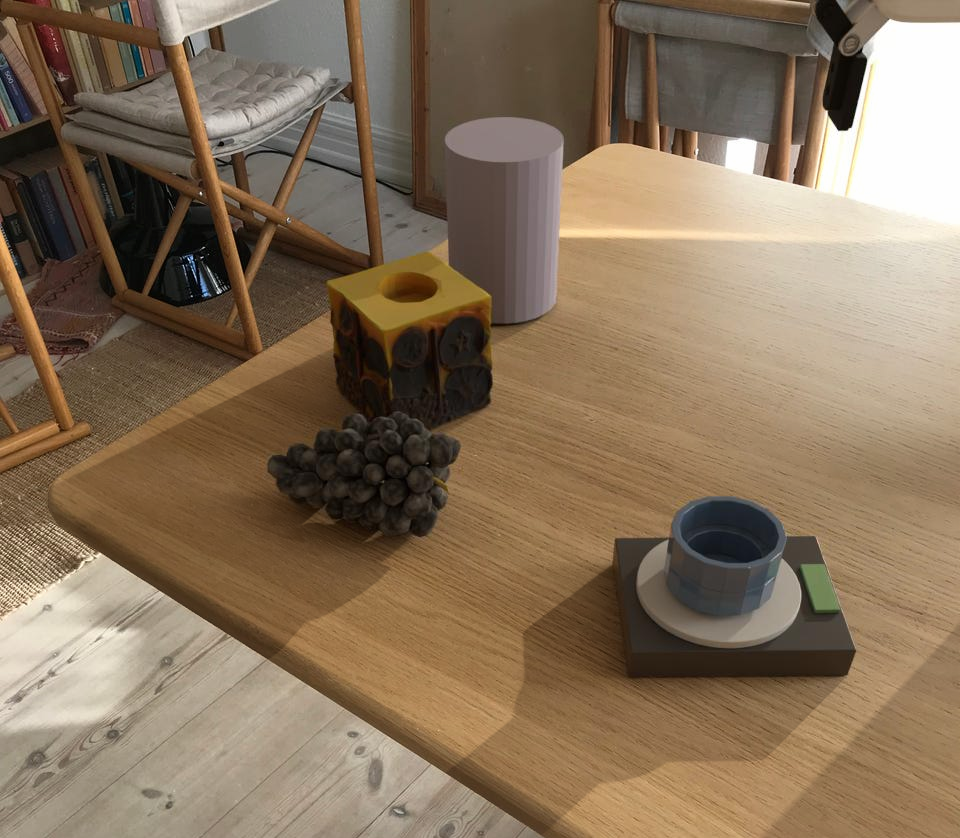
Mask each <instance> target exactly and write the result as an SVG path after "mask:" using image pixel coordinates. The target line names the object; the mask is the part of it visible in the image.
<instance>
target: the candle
mask: <svg viewBox="0 0 960 838" xmlns="http://www.w3.org/2000/svg"><path fill="white" fill-rule="evenodd" d="M325 285H326V291H327V295H328V302H329V309H330V311H329V313H330V325H331V328H332V329H331V330H332V337H333V355H332V356H333V363H334V368H335V372H336V378H335V384H336V388H337V390H338V391H339V392H340V393H341V394H342V395H343V396H344V397H345V398H346V399H347V400H348V401H349V403H350V404H351V405H352V406H353V407H354V408H355V409H356V410H358V411H359V414H361V415H363V417H364V418H365V419H366V420H367V421H368V422H369V421H370V422H372V420H373V419H376V418H378V417H385V418H387V417H388V416H390V415H391V414H392V413H394V412H398V411H399V412H402V413H404V414H407V415H408V416H409V418H410V419H417V420H419V421H420V422H422V423H423V424H424V427H425V428H426V429H427V430H429V429H432V428H436V427H439V426H440V425H443V424H444V423H449V422H451V421H453V420H455V419H458V418H460V417H462V416H464V415H467V414H469V413H472V412H476V411H478V410H482V409H485V408H486V407H487V406H490V405H491V402H492V397H491V395H492V394H491V391H492V388H493V385H494V381H493V380H494V379H493V373H492V371H493V360H492V334H491V330H490V328H491V325H492V324H491V296H490V295H489V294H488V293H487V292H486V291H484V290H483V289H481V288H479V287H478V286H477V285H475V284H474V283H473V282H471V281H470V280H468V279H466V278H465V277H464V276H462V275H461V274H459V273H458V272H457V271H455V270H454V269H452V268H451V267H450V266H449V263H446V262H445V261H443V260H442V259H440V258H439V257H438V256H437V255H435V254H434V253H432V252H431V251H430V252H429V251H423V252H420V253H415V254H413V255H410V256H406V257H404V258H401V259H397V260H394V261H390V262H386V263H383V264H379V265H377V266H374V267H372V268H367V269H365V270H362V271H358V272H355V273H352V274H348V275H344V276H341V277H337V278H334V279H328V280H327V281H326V282H325Z"/></svg>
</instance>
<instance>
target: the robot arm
mask: <svg viewBox="0 0 960 838" xmlns="http://www.w3.org/2000/svg"><path fill="white" fill-rule="evenodd" d="M808 2H809V9H810V11H811V13H812V14H813V16H814V17H815V19H816V20H817V22H818V23H819V24H820V25H821V27H822V28H823V30H824V31H825V33H826V34H827V36H828V37H829V39H830V40H831V41H832V43H833V46H832V49H831V54H830V60H829V64H828V69H827V73H826V78H825V84H824V88H823V92H822V99H821V101H822V102H821V103H822V107H823V109H824V111H825V112H827V117H828V118H829V119H830V121H831V122H832V124H833V125H834V127H835V128H836V130H837V131H838V132H848V131H849V130H850V129H852V128H853V126H854V121H855V117H856V114H857V113H856V112H857V109H858V104H859V100H860V96H861V92H862V87H863V84H864V83H863V82H864V79H865V75H866V71H867V65H868V57H867V56H866V55H865V53H864V52H863V50H864V46H865V45H866V44H868V42H869V41H870V40H871V39H872V38H873V37H874V36H875V35H876V34H877V33H878V32H880V30H881V29H882V28H883V27H884V26H885V25H886V24H887V23H888V22H889V21H890V20H891V21H895V22H898V23H899V22H900V23H908V24H924V23H925V24H949V23H955V24H957V23H959V24H960V0H852V1H850V3H849V4H847V6H846V7H845V8H844V9H843V8H842V7H841V5H840V4H839V2H838V1H837V0H808Z"/></svg>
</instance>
